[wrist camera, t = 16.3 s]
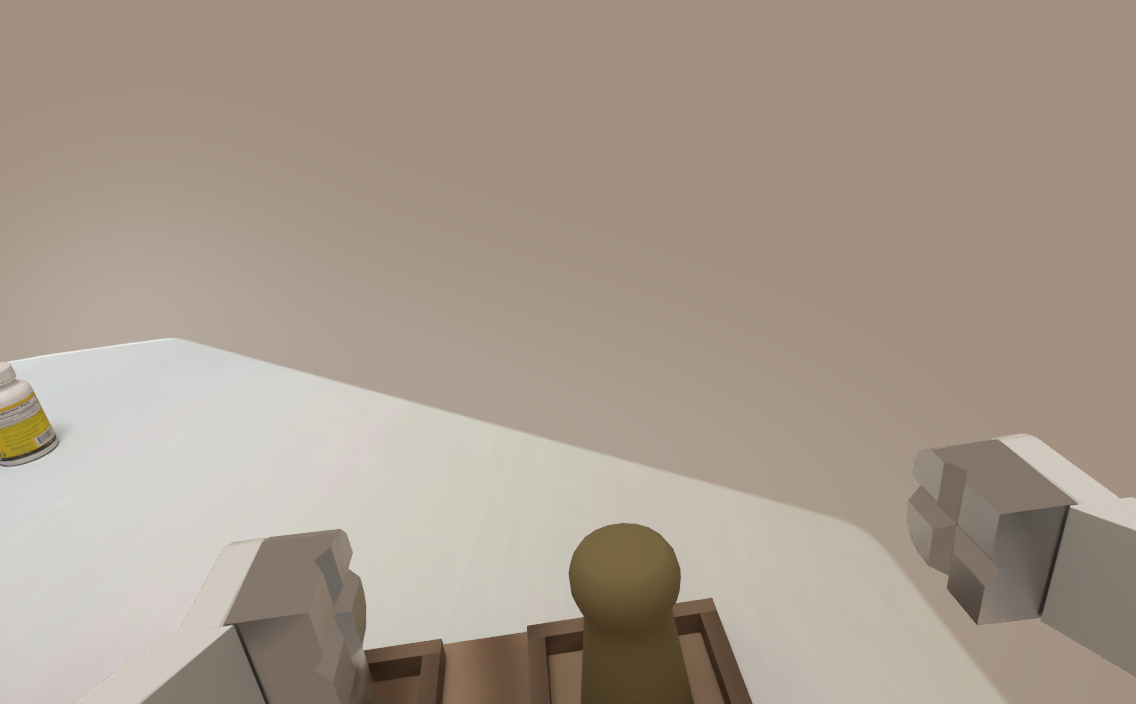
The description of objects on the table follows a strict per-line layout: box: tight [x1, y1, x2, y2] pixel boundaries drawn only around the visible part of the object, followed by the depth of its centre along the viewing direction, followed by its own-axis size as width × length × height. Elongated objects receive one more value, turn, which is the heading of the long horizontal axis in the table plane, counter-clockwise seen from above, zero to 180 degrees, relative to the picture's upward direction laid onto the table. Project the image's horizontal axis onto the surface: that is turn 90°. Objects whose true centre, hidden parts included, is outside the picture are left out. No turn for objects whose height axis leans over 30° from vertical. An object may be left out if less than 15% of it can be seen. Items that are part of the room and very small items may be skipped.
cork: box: [569, 523, 694, 704], centre depth 34 cm, size 6×6×11 cm
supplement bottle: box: [0, 362, 58, 466], centre depth 70 cm, size 5×5×10 cm
